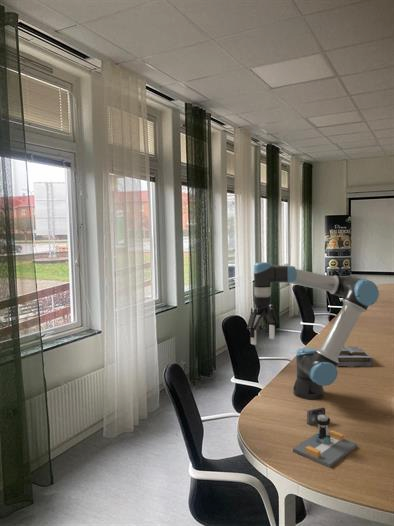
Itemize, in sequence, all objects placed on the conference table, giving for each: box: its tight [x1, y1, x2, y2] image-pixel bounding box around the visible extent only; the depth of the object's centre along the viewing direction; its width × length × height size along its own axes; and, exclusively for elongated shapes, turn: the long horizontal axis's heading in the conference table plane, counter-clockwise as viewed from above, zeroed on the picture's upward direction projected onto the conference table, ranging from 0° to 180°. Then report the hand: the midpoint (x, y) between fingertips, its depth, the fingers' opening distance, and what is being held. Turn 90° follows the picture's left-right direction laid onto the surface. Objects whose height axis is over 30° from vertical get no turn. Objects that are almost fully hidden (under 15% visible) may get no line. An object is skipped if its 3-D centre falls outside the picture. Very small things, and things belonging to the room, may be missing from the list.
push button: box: [316, 414, 334, 444], centre depth 154 cm, size 7×5×10 cm
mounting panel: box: [292, 429, 358, 469], centre depth 152 cm, size 20×15×3 cm
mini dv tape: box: [306, 407, 326, 426], centre depth 174 cm, size 8×2×6 cm, turn 110°
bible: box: [338, 345, 373, 367], centre depth 256 cm, size 23×27×10 cm
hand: (263, 341), depth 188 cm, fingers open, 13 cm apart
